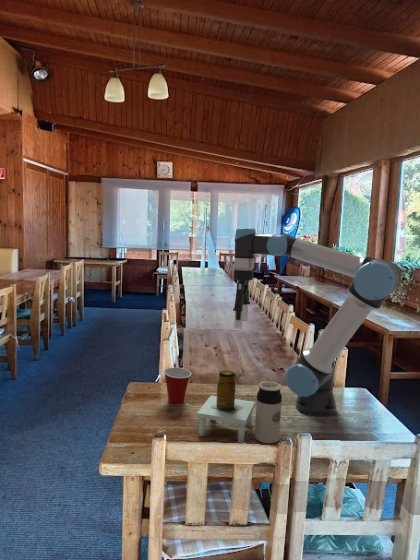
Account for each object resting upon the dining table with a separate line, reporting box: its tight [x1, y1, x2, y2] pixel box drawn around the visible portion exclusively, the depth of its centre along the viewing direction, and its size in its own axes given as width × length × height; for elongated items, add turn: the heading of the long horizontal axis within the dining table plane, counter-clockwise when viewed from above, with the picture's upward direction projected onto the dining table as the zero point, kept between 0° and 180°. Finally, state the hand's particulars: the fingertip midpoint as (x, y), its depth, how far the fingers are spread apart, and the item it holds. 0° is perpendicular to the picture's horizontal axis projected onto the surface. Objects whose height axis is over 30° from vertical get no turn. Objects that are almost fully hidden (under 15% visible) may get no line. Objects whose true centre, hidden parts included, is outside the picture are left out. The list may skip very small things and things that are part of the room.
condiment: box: [212, 369, 243, 414], centre depth 149 cm, size 7×8×12 cm
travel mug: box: [254, 381, 283, 444], centre depth 145 cm, size 8×8×18 cm
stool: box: [196, 395, 256, 444], centre depth 150 cm, size 16×16×8 cm
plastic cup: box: [163, 366, 192, 405], centre depth 173 cm, size 11×11×12 cm
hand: (241, 324), depth 171 cm, fingers open, 13 cm apart
